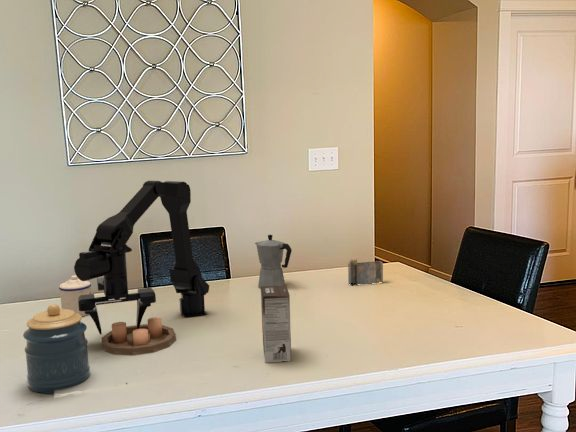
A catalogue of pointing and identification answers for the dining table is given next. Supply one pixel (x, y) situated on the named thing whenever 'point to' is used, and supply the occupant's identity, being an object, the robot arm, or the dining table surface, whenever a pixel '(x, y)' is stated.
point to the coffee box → (276, 323)
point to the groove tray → (130, 349)
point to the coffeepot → (272, 262)
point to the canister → (56, 350)
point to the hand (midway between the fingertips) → (119, 331)
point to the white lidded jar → (73, 293)
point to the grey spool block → (365, 272)
